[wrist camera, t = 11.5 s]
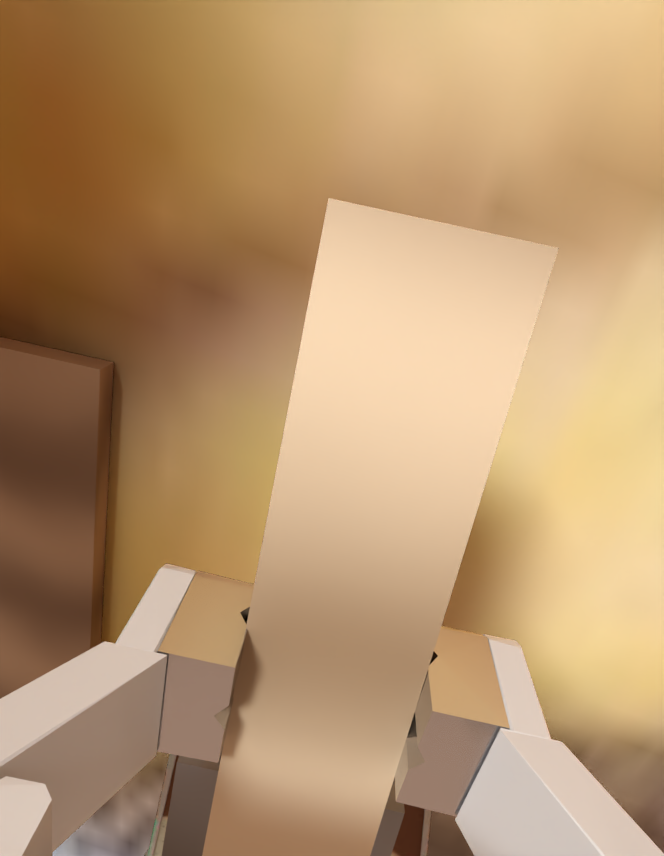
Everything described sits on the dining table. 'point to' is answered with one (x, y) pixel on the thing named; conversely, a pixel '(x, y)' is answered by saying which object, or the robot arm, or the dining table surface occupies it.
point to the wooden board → (51, 506)
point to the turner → (363, 531)
